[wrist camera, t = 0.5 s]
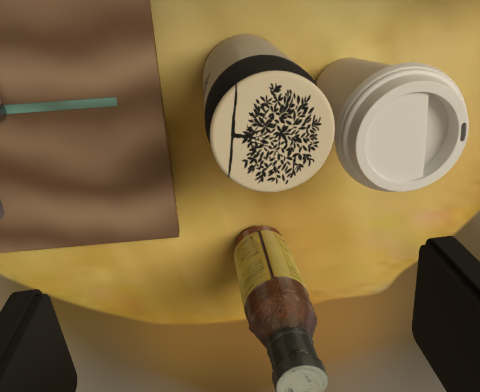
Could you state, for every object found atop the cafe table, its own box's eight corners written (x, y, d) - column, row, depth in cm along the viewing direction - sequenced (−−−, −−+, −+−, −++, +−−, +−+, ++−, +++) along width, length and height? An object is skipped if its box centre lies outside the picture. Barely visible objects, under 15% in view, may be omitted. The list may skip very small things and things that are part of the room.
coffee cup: (371, 146, 46) (442, 213, 33) (285, 125, 45) (323, 187, 31) (409, 55, 43) (506, 88, 29) (317, 28, 41) (376, 50, 27)
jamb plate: (-120, -79, 34) (-179, -91, 29) (137, -91, 36) (127, -105, 30) (-7, 246, 48) (-33, 279, 42) (179, 230, 49) (177, 260, 43)
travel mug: (295, 44, 41) (358, 84, 25) (273, 125, 44) (316, 206, 28) (212, 24, 40) (221, 52, 24) (195, 109, 43) (194, 185, 27)
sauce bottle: (235, 271, 52) (255, 422, 34) (229, 225, 49) (248, 364, 31) (290, 264, 52) (338, 410, 34) (287, 218, 49) (339, 351, 31)
